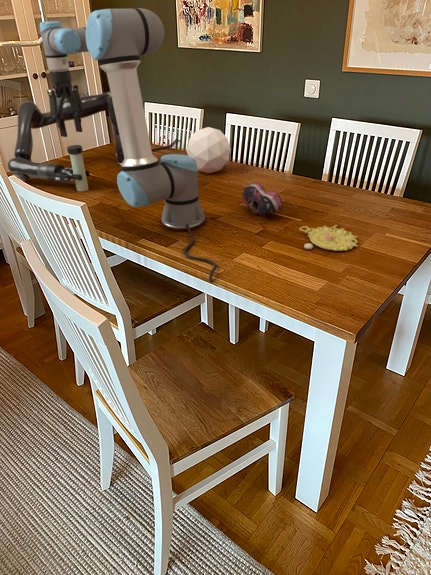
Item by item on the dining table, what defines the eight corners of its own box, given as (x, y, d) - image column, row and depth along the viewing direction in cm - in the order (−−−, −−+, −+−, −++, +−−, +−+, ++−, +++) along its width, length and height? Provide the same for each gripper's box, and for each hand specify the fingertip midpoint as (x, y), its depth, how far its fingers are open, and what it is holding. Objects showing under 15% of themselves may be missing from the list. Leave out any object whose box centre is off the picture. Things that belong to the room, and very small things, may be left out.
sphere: (214, 188, 203) (213, 162, 184) (180, 167, 207) (175, 139, 188) (238, 160, 207) (239, 131, 189) (204, 140, 212) (202, 110, 193)
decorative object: (343, 255, 128) (285, 234, 139) (342, 262, 130) (284, 241, 140) (372, 230, 142) (317, 213, 152) (371, 237, 143) (316, 219, 153)
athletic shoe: (254, 181, 170) (227, 189, 167) (283, 176, 151) (253, 185, 147) (260, 210, 173) (234, 218, 170) (290, 209, 154) (261, 219, 150)
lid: (85, 151, 179) (84, 145, 178) (75, 154, 175) (73, 149, 174) (75, 149, 182) (74, 144, 181) (65, 153, 178) (63, 147, 177)
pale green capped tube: (90, 188, 188) (83, 147, 178) (82, 192, 184) (74, 150, 175) (82, 186, 190) (74, 145, 181) (74, 190, 187) (65, 148, 177)
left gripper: (63, 175, 196) (96, 178, 191) (42, 186, 184) (77, 190, 179) (59, 158, 192) (93, 161, 187) (38, 168, 180) (73, 171, 175)
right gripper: (45, 74, 153) (59, 141, 166) (86, 67, 169) (96, 129, 181) (30, 73, 157) (45, 139, 169) (71, 66, 172) (82, 127, 184)
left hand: (85, 175), depth 183 cm, fingers closed on pale green capped tube, 4 cm apart
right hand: (71, 133), depth 175 cm, fingers open, 8 cm apart
